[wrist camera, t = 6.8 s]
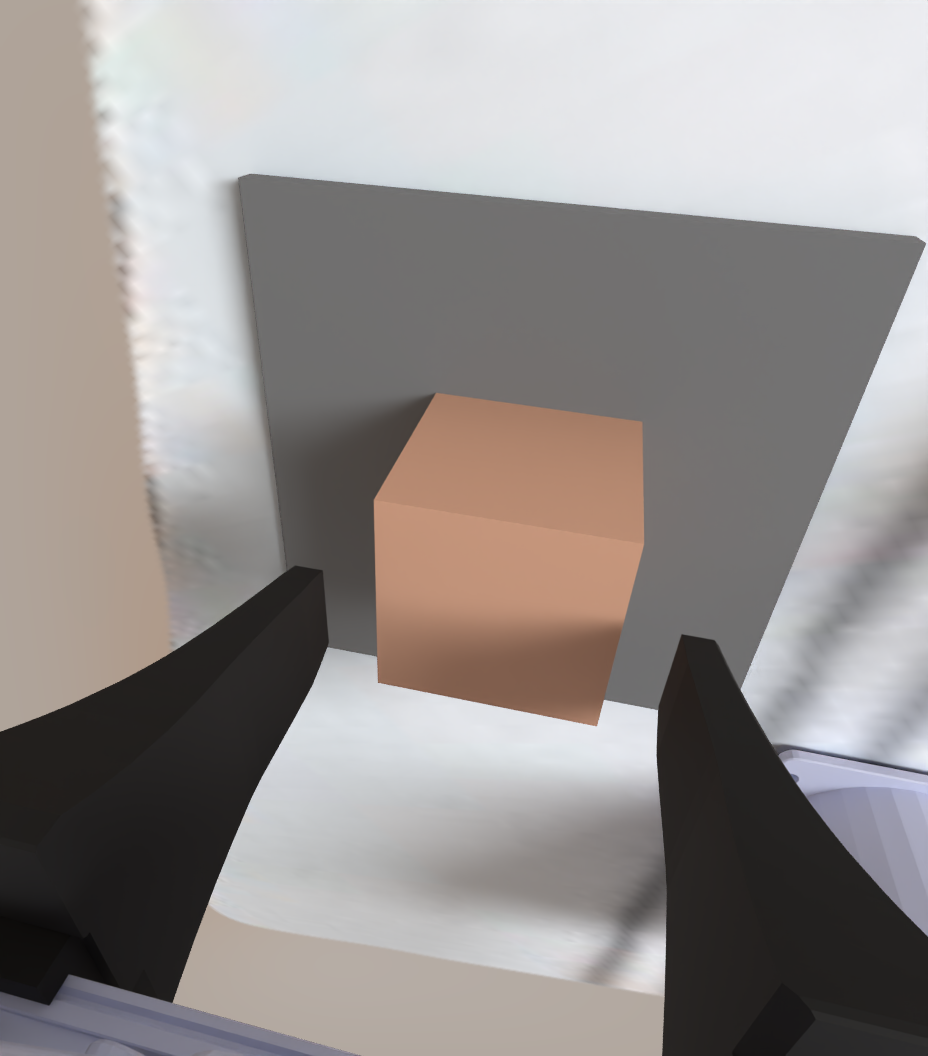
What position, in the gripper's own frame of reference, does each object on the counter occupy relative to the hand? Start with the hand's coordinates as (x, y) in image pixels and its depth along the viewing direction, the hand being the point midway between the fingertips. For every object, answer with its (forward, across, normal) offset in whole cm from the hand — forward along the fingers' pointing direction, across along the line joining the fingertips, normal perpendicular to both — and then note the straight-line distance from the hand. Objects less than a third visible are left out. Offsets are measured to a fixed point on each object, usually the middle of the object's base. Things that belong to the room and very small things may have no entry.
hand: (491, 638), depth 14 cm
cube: (+5, 0, 0) cm, 5 cm away
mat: (+6, 0, 0) cm, 6 cm away
